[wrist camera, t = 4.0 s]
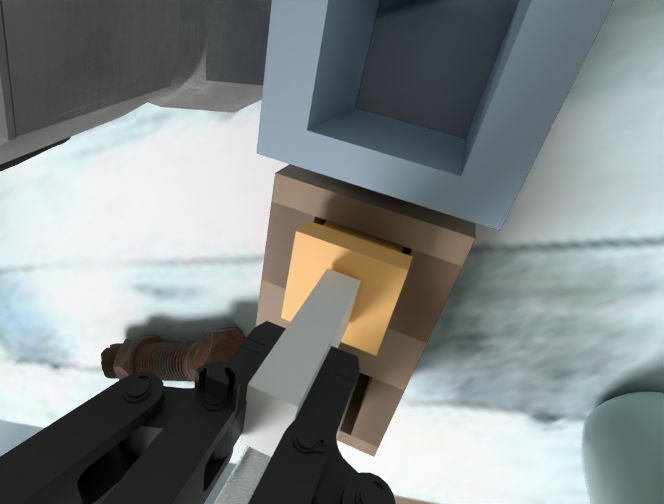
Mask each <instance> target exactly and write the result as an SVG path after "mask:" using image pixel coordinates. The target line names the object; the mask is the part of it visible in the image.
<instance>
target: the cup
mask: <svg viewBox="0 0 664 504" xmlns="http://www.w3.org/2000/svg"><path fill="white" fill-rule="evenodd" d="M581 455H582V464H583V471H584V477H585V482H586V487H587V492H588V497H589V501H590V504H664V393H660V392H651V391H650V392H634V393H627V394H623V395H620V396H616V397H614V398H611V399H609V400H607V401H605V402H603V403H602V404H600V405H599V406H597V407H596V408H595V409H594V410H593V411H592V412H591V413H590V414H589V416H588V418H587V419H586V421H585V423H584V426H583V431H582V437H581Z"/></svg>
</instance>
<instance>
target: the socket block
mask: <svg viewBox="0 0 664 504" xmlns="http://www.w3.org/2000/svg"><path fill="white" fill-rule="evenodd" d="M306 220H308V221H311V222H314V223H317V224H320V225H323V224H324V223H325V222H326V221H327V220H328V221H331V222H334V223H336V224H339V225H342V226H345V227H348V228H351V229H354V230H357V231H360V232H363V233H366V234H369V235H372V236H375V237H377V238H380V239H383V240H386V241H389V242H392V243H395V244H398V245H401V246H404V247H407V248H410V251H409V254H408V255H409V256H412V260H411V264H410V267H409V270H408V273H407V276H406V278H405V281H404V284H403V286H402V289H401V292H400V294H399V297H398V300H397V302H396V305H395V308H394V310H393V313H392V316H391V318H390V321H389V324H388V326H387V329H386V332H385V334H384V337H383V340H382V342H381V345H380V347H379V350H378V353H377V355H376V356H375V355H373V354H370V353H368V352H365V351H363V350H360V349H358V348H355V347H353V346H350V345H348V344H345V343H343V342H340V344H339V346H338V349H340V350H343V351H345V352H348V353H350V354H353V355H355V356H358V361H359V368H360V370H359V372H360V376H359V379H358V382H357V385H356V388H355V390H354V393H353V396H352V399H351V402H350V404H349V407H348V410H347V413H346V416H345V418H344V421H343V424H342V427H341V430H340V432H339V435H338V438H337V440H338V441H340V442H343V443H345V444H347V445H349V446H352V447H354V448H356V449H358V450H360V451H363V452H365V453H367V454H369V455H372V456H375V454H376V451H377V449H378V447H379V445H380V443H381V441H382V438H383V436H384V434H385V432H386V430H387V428H388V425H389V423H390V421H391V419H392V417H393V415H394V413H395V410H396V408H397V406H398V404H399V402H400V400H401V397H402V395H403V393H404V391H405V389H406V387H407V385H408V382H409V380H410V378H411V376H412V374H413V372H414V369H415V367H416V365H417V363H418V361H419V359H420V356H421V354H422V352H423V350H424V348H425V346H426V344H427V341H428V339H429V337H430V335H431V333H432V331H433V328H434V326H435V324H436V322H437V320H438V318H439V315H440V313H441V311H442V309H443V307H444V305H445V303H446V300H447V298H448V296H449V294H450V292H451V290H452V287H453V285H454V283H455V281H456V279H457V277H458V274H459V272H460V270H461V268H462V266H463V264H464V262H465V259H466V257H467V255H468V253H469V251H470V249H471V246H472V244H473V242H474V240H475V223H473V222H470V221H467V220H464V219H461V218H458V217H455V216H451V215H448V214H445V213H442V212H439V211H436V210H433V209H429V208H426V207H423V206H420V205H417V204H414V203H411V202H408V201H404V200H401V199H398V198H395V197H392V196H389V195H386V194H382V193H379V192H376V191H373V190H370V189H367V188H364V187H361V186H357V185H354V184H351V183H348V182H345V181H342V180H339V179H335V178H332V177H329V176H326V175H323V174H320V173H317V172H313V171H310V170H307V169H304V168H301V167H298V166H295V165H292V164H290V165H288V166H286V167H285V168H283V169H281V170H280V171H278V172H276V173H275V179H274V187H273V195H272V203H271V210H270V218H269V226H268V234H267V241H266V249H265V257H264V265H263V272H262V280H261V288H260V296H259V303H258V311H257V319H256V326H258V325H260V324H262V323H263V322H265V321H269V322H272V323H274V324H276V325H279V326H281V327H284V328H287V327H288V325H289V324H290V321H288V320H285V319H283V318H281V314H282V308H283V303H284V297H285V291H286V285H287V280H288V274H289V268H290V262H291V257H292V251H293V245H294V239H295V234H296V230H297V229H298V228H299V227H300V226H301V225H302V224H303V223H304V222H305V221H306Z"/></svg>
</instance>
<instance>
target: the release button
mask: <svg viewBox="0 0 664 504" xmlns="http://www.w3.org/2000/svg"><path fill="white" fill-rule="evenodd" d="M403 248H404V246H401V245H398V244H395V243H392V242H389V241H386V240H383V239H380V238H377V237H375V236H372V235H369V234H366V233H363V232H360V231H357V230H354V229H351V228H348V227H345V226H342V225H339V224H336V223H334V222H331V221H328V220H327V221H326V222H325V223H324V224H323V225H320V224H317V223H314V222H311V221H308V220H306V221H305V222H304V223H303V224H302V225H301V226H300V227H299V228H298V229H297V230H296V234H295V239H294V245H293V251H292V257H291V262H290V268H289V274H288V280H287V285H286V291H285V297H284V303H283V308H282V314H281V318H283V319H285V320H288V321H290V322H291V321H292V319H293V318H294V316H295V315H296V313H297V312H298V310H299V309H300V308H301V306H302V305H303V303H304V302H305V300H306V299H307V297H308V296H309V294H310V293H311V291H312V290H313V289H314V287H315V286H316V284H317V283H318V281H319V280H320V278H321V277H322V275H323V274H324V272H325V271H326V270H327V268H328V269H331V270H333V271H336V272H339V273H342V274H344V275H347V276H350V277H353V278H355V279H358V280H361V283H360V286H359V289H358V293H357V296H356V299H355V303H354V306H353V309H352V313H351V316H350V319H349V322H348V326H347V329H346V331H345V333H344V336H343V338H342V340H341V342H343V343H345V344H348V345H350V346H353V347H355V348H358V349H360V350H363V351H365V352H368V353H370V354H373V355H375V356H376V355H377V353H378V350H379V347H380V345H381V342H382V340H383V337H384V334H385V332H386V329H387V326H388V324H389V321H390V318H391V316H392V313H393V310H394V308H395V305H396V302H397V300H398V297H399V294H400V292H401V289H402V286H403V284H404V281H405V278H406V276H407V273H408V270H409V267H410V264H411V260H412V256H409V255H407V254H404V253H402V250H403Z"/></svg>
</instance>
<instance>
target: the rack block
mask: <svg viewBox="0 0 664 504" xmlns="http://www.w3.org/2000/svg"><path fill="white" fill-rule="evenodd" d="M613 1H614V0H518V3H517V6H516V9H515V11H514V14H513V16H512V19H511V22H510V24H509V27H508V29H507V32H506V35H505V37H504V40H503V42H502V45H501V47H500V50H499V53H498V55H497V58H496V60H495V63H494V66H493V68H492V71H491V73H490V76H489V79H488V81H487V84H486V86H485V89H484V92H483V94H482V97H481V99H480V102H479V104H478V107H477V110H476V112H475V115H474V117H473V120H472V123H471V125H470V128H469V130H468V133H467V136H466V138H461V137H457V136H454V135H450V134H447V133H443V132H440V131H436V130H432V129H429V128H425V127H422V126H418V125H415V124H411V123H408V122H404V121H400V120H397V119H393V118H390V117H386V116H383V115H379V114H375V113H372V112H368V111H365V110H361V109H358V108H355V107H356V102H357V98H358V93H359V89H360V84H361V80H362V75H363V71H364V67H365V62H366V58H367V53H368V49H369V44H370V40H371V35H372V31H373V26H374V22H375V17H376V13H377V8H378V4H379V0H272V4H271V14H270V24H269V34H268V44H267V54H266V64H265V74H264V84H263V95H262V105H261V115H260V125H259V135H258V145H257V154H260V155H263V156H266V157H270V158H273V159H276V160H279V161H282V162H285V163H288V164H292V165H295V166H298V167H301V168H304V169H307V170H310V171H313V172H317V173H320V174H323V175H326V176H329V177H332V178H335V179H339V180H342V181H345V182H348V183H351V184H354V185H357V186H361V187H364V188H367V189H370V190H373V191H376V192H379V193H382V194H386V195H389V196H392V197H395V198H398V199H401V200H404V201H408V202H411V203H414V204H417V205H420V206H423V207H426V208H429V209H433V210H436V211H439V212H442V213H445V214H448V215H451V216H455V217H458V218H461V219H464V220H467V221H470V222H473V223H477V224H480V225H483V226H486V227H489V228H492V229H495V230H498V231H500V229H501V227H502V225H503V223H504V221H505V219H506V217H507V215H508V213H509V211H510V209H511V207H512V205H513V203H514V201H515V199H516V197H517V195H518V193H519V191H520V189H521V187H522V185H523V183H524V181H525V179H526V177H527V175H528V173H529V171H530V168H531V166H532V164H533V162H534V160H535V158H536V156H537V154H538V152H539V150H540V148H541V146H542V144H543V142H544V140H545V138H546V136H547V134H548V132H549V130H550V128H551V126H552V124H553V122H554V120H555V118H556V116H557V114H558V112H559V110H560V108H561V106H562V104H563V102H564V100H565V98H566V96H567V94H568V92H569V90H570V88H571V86H572V84H573V82H574V80H575V78H576V76H577V74H578V72H579V70H580V68H581V66H582V64H583V62H584V60H585V58H586V56H587V54H588V52H589V50H590V48H591V46H592V44H593V42H594V40H595V38H596V36H597V34H598V32H599V30H600V28H601V25H602V23H603V21H604V19H605V17H606V15H607V13H608V11H609V9H610V7H611V5H612V3H613Z"/></svg>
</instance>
